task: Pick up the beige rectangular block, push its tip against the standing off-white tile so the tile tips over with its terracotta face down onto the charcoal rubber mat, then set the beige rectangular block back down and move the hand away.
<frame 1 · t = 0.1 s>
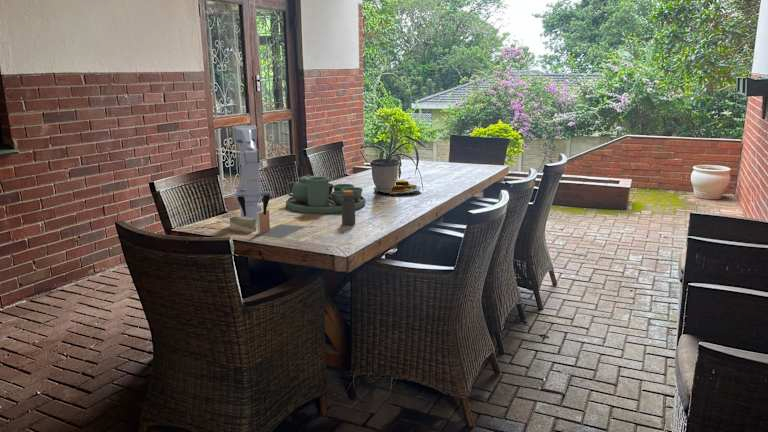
hand: (254, 215, 238), 11 cm above the table, tool pointing down, fingers open, 7 cm apart
food on plate: (399, 193, 342), on the table
beige rectangular block: (243, 231, 256), on the table
mat: (281, 232, 254), on the table
bottle: (348, 224, 267), on the table
tile: (264, 232, 252), point 1 cm above the table, touching mat
tea set: (325, 206, 308), on the table
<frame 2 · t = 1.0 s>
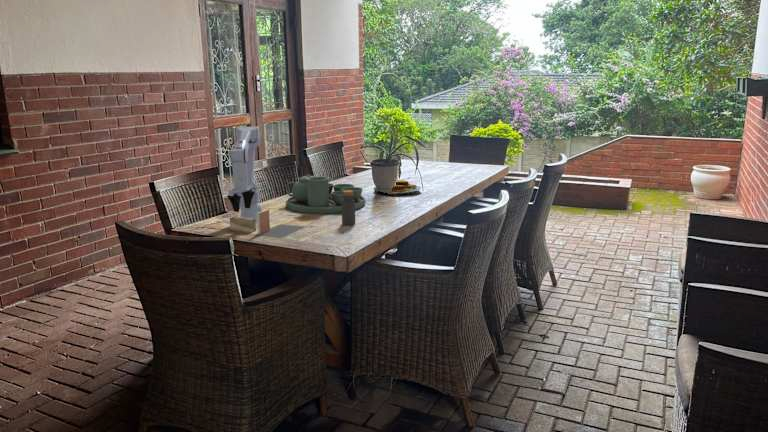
hand: (242, 209, 253), 9 cm above the table, tool pointing down, fingers open, 7 cm apart
nothing on the table moved.
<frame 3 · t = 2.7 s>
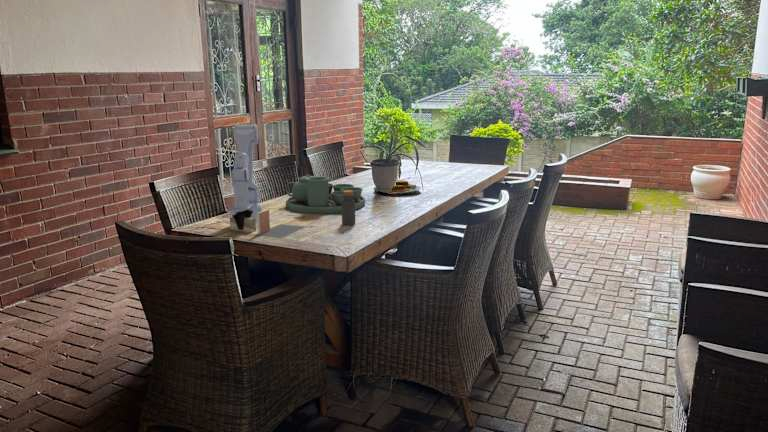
hand: (243, 228, 255), 1 cm above the table, tool pointing down, fingers closed on beige rectangular block, 3 cm apart
beige rectangular block: (243, 231, 256), on the table, touching gripper
everything else where it was.
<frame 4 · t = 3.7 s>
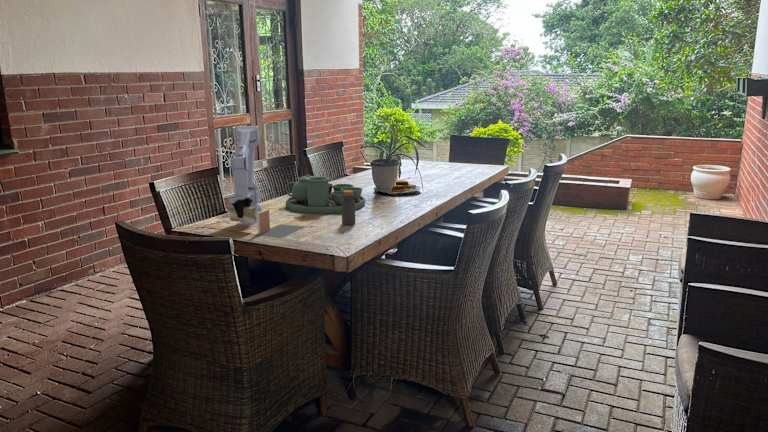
hand: (242, 216, 254), 6 cm above the table, tool pointing down, fingers closed on beige rectangular block, 3 cm apart
beige rectangular block: (243, 221, 255), point 5 cm above the table, touching gripper
everything else where it was.
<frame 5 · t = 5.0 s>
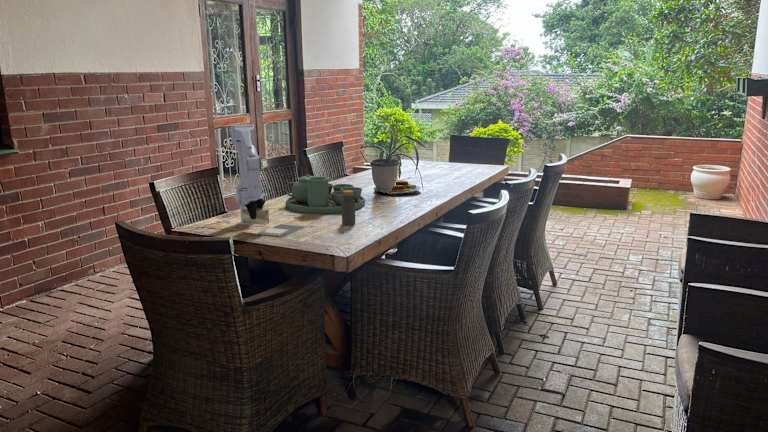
hand: (255, 218, 252), 6 cm above the table, tool pointing down, fingers closed on beige rectangular block, 3 cm apart
beige rectangular block: (256, 223, 252), point 4 cm above the table, touching gripper
tile: (265, 231, 251), point 1 cm above the table, tilted 90°, touching mat
everything else where it was.
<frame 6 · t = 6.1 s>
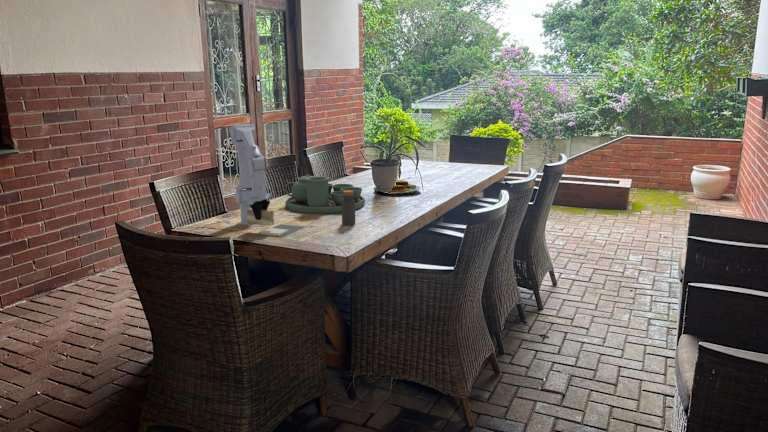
hand: (260, 218, 251), 6 cm above the table, tool pointing down, fingers closed on beige rectangular block, 3 cm apart
beige rectangular block: (260, 224, 252), point 4 cm above the table, touching gripper
everything else where it was.
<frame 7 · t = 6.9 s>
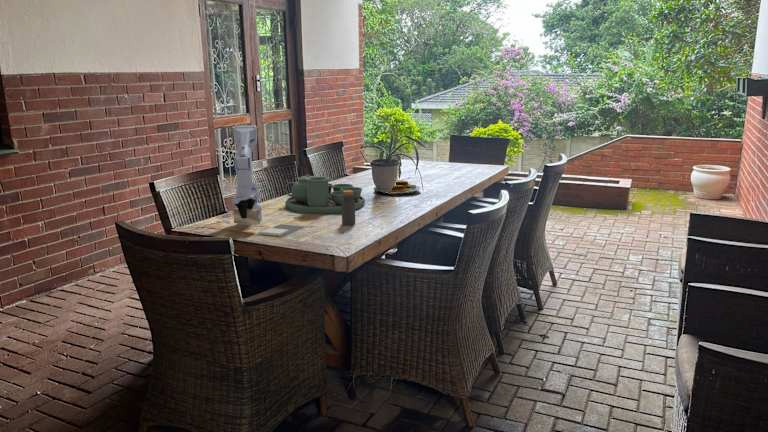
hand: (246, 217, 254), 6 cm above the table, tool pointing down, fingers closed on beige rectangular block, 3 cm apart
beige rectangular block: (247, 223, 254), point 4 cm above the table, touching gripper
everything else where it was.
when the fingers open (3 cm above the table, at t = 8.1 s): beige rectangular block stays where it is, on the table.
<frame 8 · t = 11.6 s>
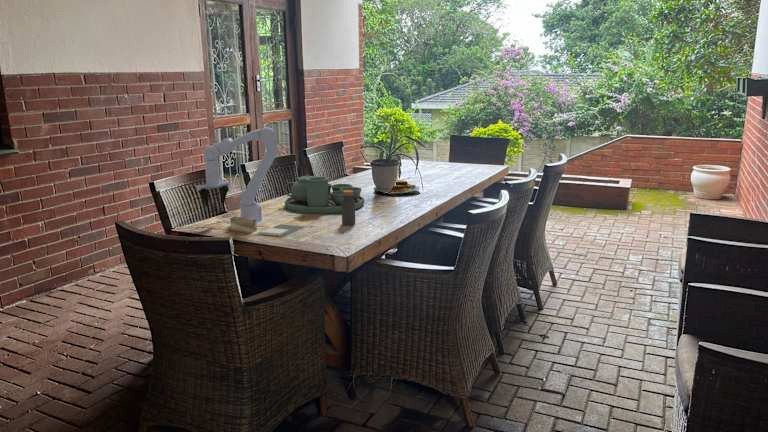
hand: (214, 204, 265), 9 cm above the table, tool pointing down, fingers open, 7 cm apart
beige rectangular block: (243, 232, 256), on the table
everything else where it was.
at the end: tile tilted 90°; tile inside the target area (1.3 cm from its centre), point 1.2 cm above the table; beige rectangular block on the table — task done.
